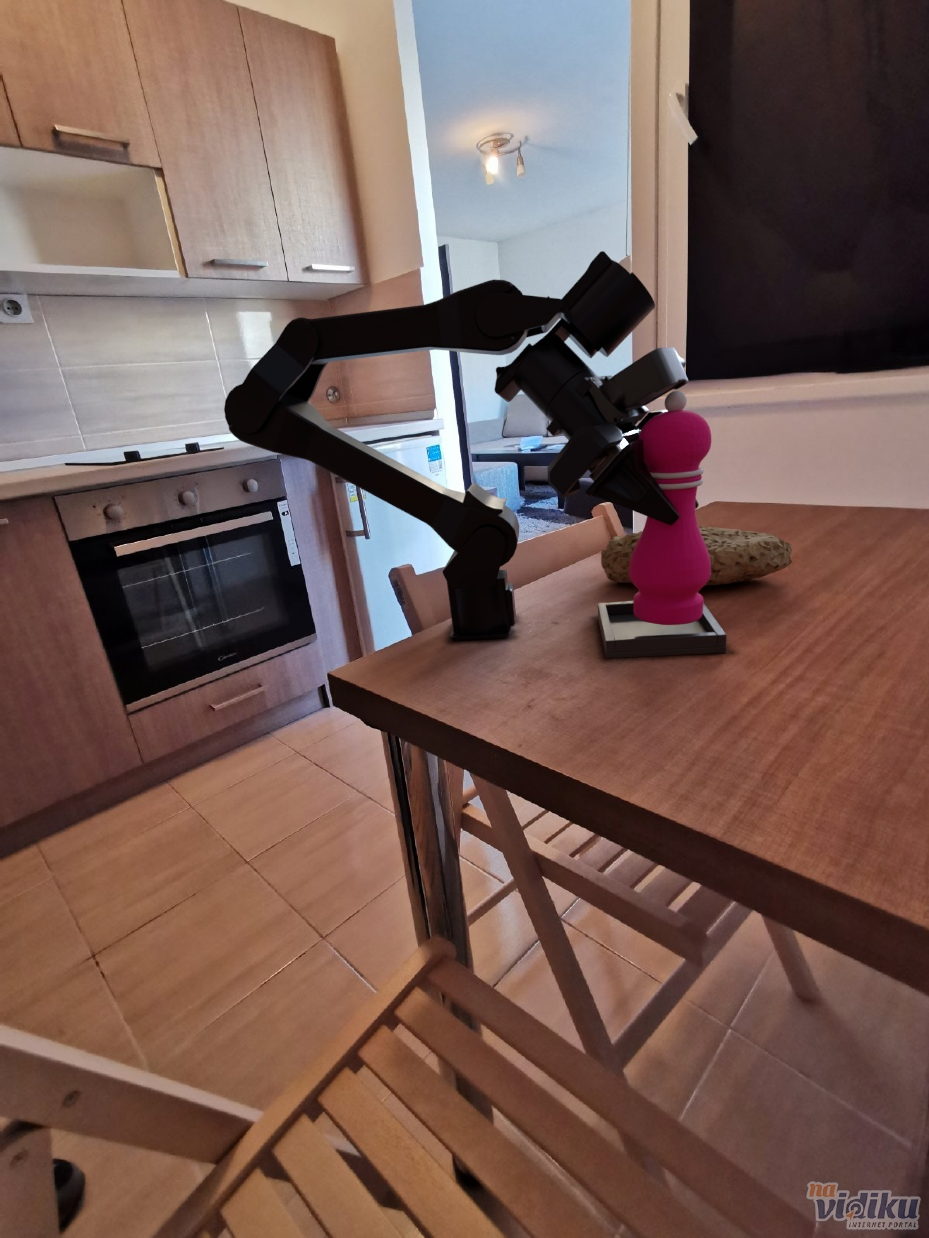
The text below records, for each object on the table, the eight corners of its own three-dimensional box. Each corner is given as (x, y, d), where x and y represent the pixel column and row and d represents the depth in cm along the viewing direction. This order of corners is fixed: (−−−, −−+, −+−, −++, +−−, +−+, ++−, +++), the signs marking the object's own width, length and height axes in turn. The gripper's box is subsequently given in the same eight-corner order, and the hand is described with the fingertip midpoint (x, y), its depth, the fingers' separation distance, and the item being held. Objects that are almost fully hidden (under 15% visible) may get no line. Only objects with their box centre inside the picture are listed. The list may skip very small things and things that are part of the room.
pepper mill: (715, 606, 57) (730, 386, 50) (698, 632, 52) (712, 388, 45) (641, 598, 61) (646, 393, 54) (617, 621, 55) (619, 395, 49)
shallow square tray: (606, 658, 55) (605, 640, 54) (598, 618, 65) (597, 603, 64) (726, 652, 53) (726, 634, 53) (699, 612, 63) (699, 596, 62)
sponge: (598, 600, 74) (771, 584, 60) (590, 538, 73) (762, 507, 60) (645, 588, 83) (803, 571, 70) (638, 533, 83) (795, 505, 69)
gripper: (574, 312, 43) (726, 463, 40) (667, 320, 56) (785, 434, 54) (495, 430, 50) (618, 565, 48) (593, 413, 64) (694, 517, 61)
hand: (685, 515), depth 52 cm, fingers closed on pepper mill, 4 cm apart
